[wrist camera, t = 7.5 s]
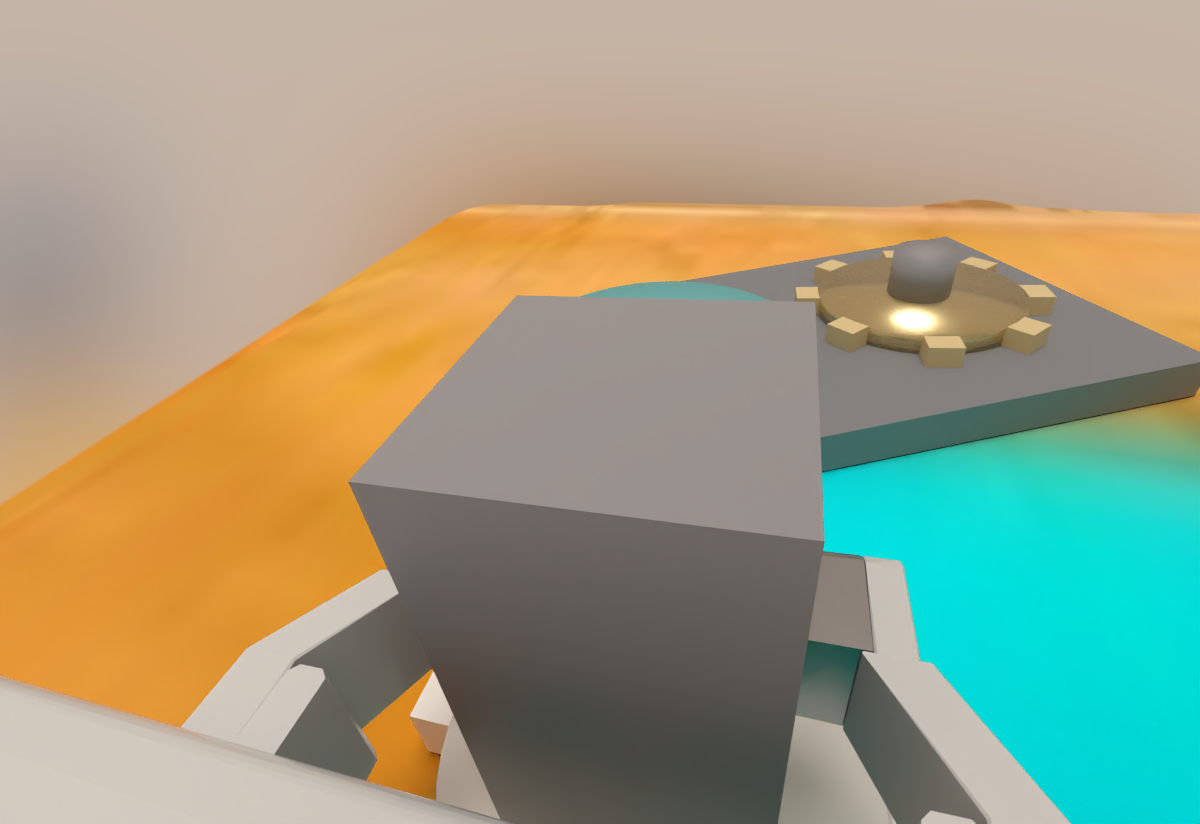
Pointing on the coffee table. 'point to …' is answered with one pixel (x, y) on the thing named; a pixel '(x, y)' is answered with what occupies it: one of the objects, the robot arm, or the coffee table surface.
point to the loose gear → (620, 566)
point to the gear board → (950, 347)
